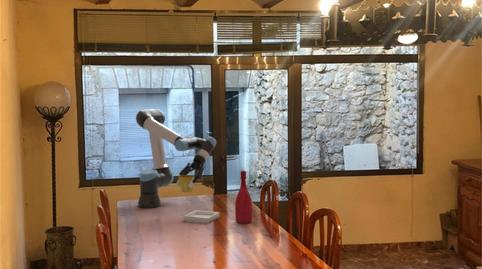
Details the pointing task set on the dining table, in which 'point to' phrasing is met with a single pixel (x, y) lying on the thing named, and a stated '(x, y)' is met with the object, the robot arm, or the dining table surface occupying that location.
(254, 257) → the dining table surface
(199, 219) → the white tray
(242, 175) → the wine bottle
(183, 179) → the plant pot
